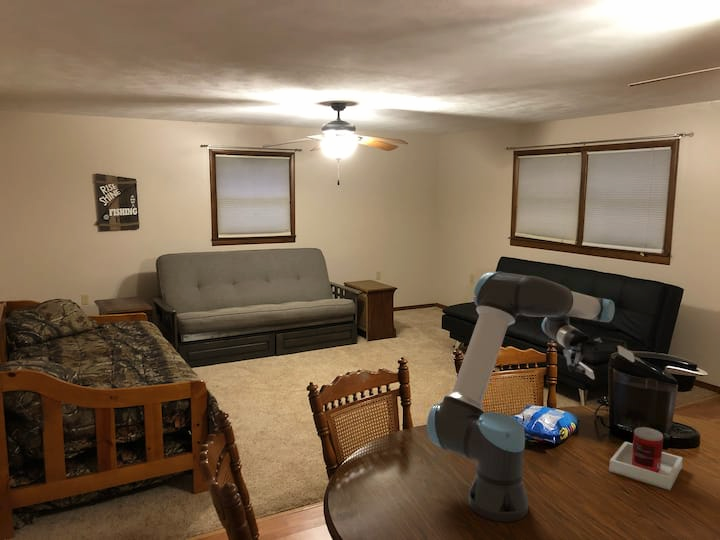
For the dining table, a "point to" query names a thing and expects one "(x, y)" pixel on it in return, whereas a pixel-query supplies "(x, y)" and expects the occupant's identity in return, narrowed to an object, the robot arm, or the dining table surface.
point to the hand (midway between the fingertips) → (613, 366)
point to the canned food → (647, 449)
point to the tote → (663, 478)
